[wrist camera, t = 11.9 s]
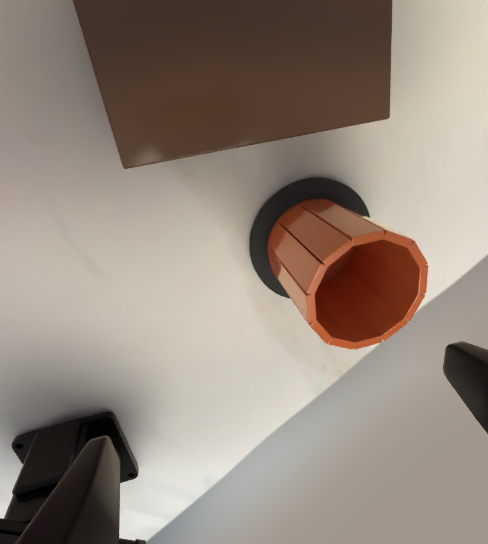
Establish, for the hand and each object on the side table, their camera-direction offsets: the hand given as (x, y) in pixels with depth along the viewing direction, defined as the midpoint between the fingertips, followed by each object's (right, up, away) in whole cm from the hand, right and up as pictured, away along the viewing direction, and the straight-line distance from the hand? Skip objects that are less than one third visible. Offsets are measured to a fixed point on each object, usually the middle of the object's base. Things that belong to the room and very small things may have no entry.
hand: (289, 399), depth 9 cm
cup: (+3, +5, +12) cm, 13 cm away
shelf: (-2, +14, +7) cm, 16 cm away
